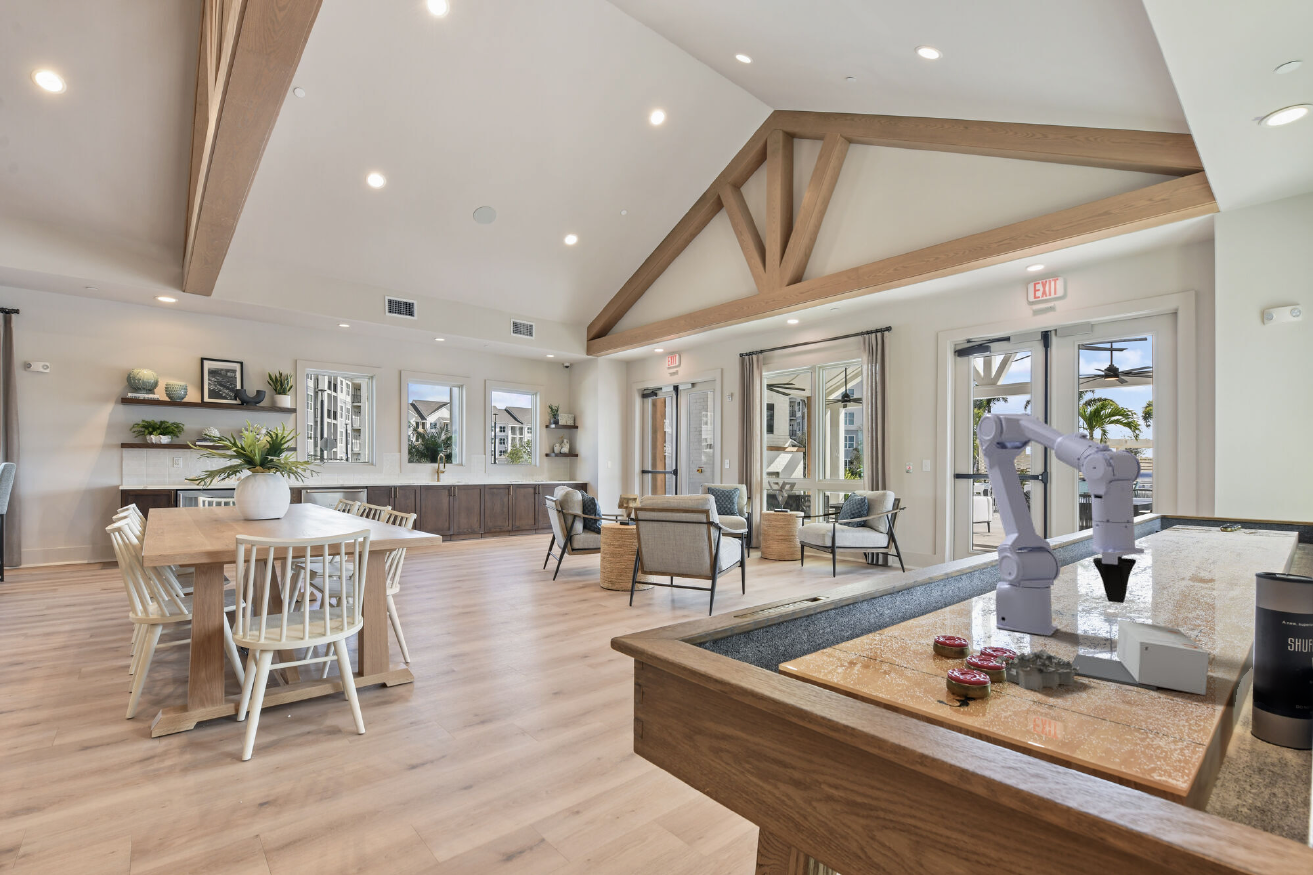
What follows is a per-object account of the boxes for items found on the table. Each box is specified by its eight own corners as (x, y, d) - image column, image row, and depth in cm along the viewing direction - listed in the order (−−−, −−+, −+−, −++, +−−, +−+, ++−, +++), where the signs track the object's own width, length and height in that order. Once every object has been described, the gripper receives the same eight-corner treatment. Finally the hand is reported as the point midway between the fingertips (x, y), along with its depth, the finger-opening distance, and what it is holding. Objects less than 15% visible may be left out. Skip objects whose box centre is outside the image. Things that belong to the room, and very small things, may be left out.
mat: (1066, 673, 97) (1066, 670, 97) (1077, 656, 105) (1077, 654, 105) (1156, 689, 90) (1156, 687, 90) (1159, 670, 98) (1159, 667, 98)
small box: (1115, 656, 102) (1136, 683, 91) (1118, 618, 102) (1139, 640, 91) (1177, 667, 99) (1206, 696, 87) (1179, 628, 99) (1209, 652, 87)
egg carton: (1029, 694, 89) (1027, 666, 90) (990, 677, 96) (989, 651, 97) (1086, 686, 92) (1084, 659, 92) (1044, 670, 99) (1043, 645, 99)
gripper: (1139, 526, 96) (1143, 613, 96) (1145, 519, 107) (1149, 597, 106) (1085, 523, 101) (1088, 606, 100) (1096, 517, 112) (1099, 592, 111)
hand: (1116, 601), depth 104 cm, fingers closed
